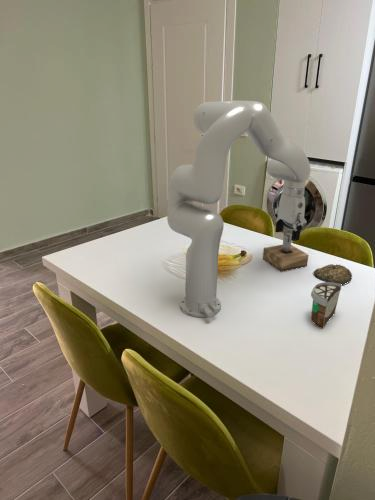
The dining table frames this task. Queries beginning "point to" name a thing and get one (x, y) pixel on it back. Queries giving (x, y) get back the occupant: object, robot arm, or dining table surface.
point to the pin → (286, 243)
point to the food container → (324, 302)
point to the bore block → (285, 258)
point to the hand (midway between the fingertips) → (286, 236)
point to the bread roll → (334, 274)
